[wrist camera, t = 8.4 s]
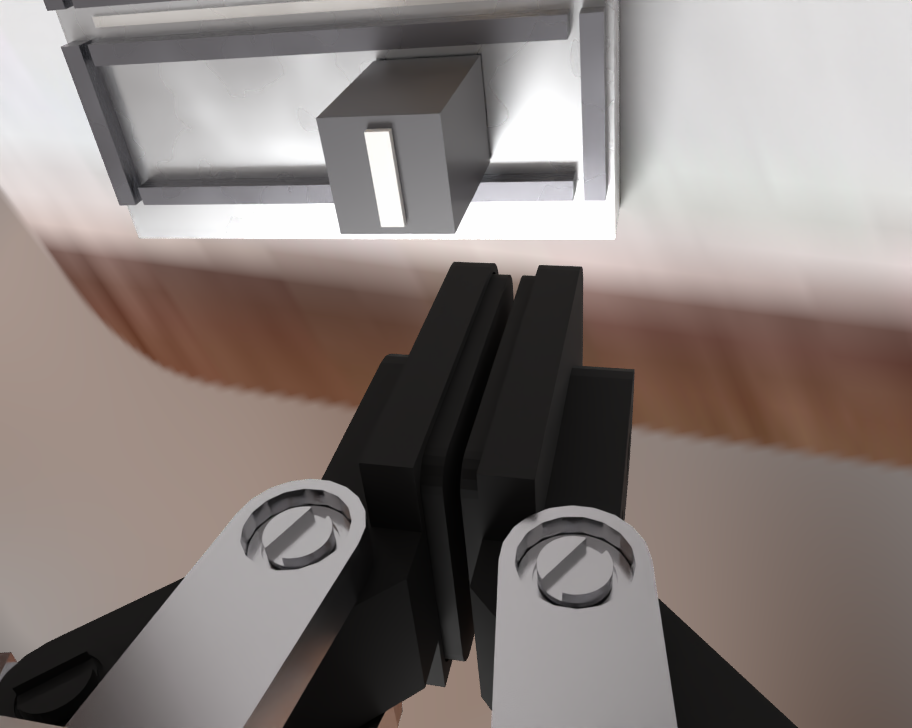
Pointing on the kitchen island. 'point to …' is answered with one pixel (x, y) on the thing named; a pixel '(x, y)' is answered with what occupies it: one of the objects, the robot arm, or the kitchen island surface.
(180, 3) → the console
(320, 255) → the kitchen island surface
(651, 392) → the kitchen island surface
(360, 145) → the fader
